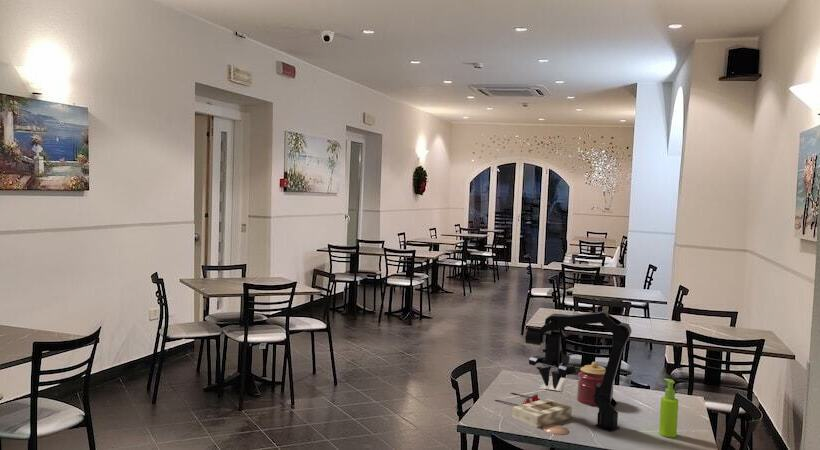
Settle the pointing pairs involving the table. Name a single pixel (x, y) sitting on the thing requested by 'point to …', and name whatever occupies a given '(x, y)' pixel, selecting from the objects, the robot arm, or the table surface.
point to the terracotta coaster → (555, 429)
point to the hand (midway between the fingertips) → (550, 387)
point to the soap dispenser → (669, 412)
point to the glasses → (524, 400)
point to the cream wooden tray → (542, 413)
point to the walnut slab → (542, 407)
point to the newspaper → (550, 385)
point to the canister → (589, 382)
